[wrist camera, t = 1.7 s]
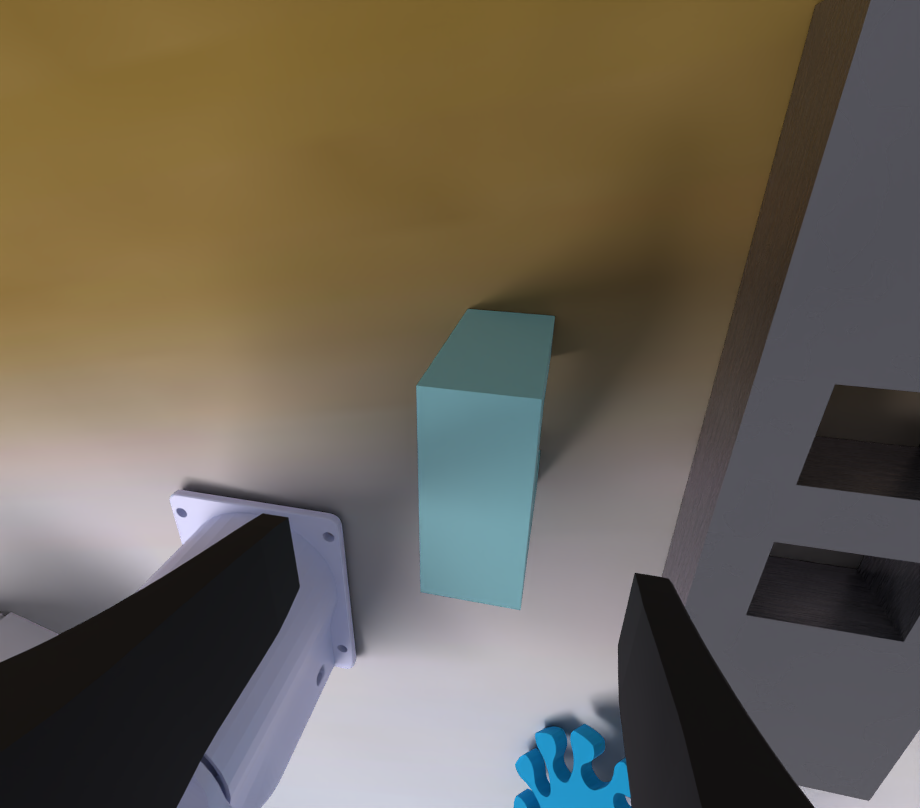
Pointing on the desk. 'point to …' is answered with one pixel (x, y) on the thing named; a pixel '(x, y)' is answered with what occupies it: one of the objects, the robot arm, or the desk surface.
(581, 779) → the blue lumpy piece
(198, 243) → the desk surface
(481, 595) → the upright aqua box
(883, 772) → the grey board with slots
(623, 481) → the desk surface
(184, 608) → the robot arm
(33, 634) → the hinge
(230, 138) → the desk surface
